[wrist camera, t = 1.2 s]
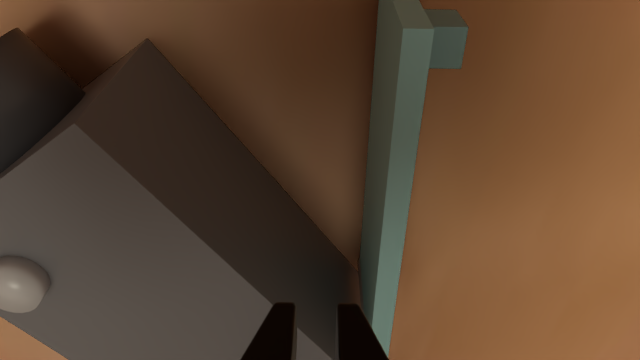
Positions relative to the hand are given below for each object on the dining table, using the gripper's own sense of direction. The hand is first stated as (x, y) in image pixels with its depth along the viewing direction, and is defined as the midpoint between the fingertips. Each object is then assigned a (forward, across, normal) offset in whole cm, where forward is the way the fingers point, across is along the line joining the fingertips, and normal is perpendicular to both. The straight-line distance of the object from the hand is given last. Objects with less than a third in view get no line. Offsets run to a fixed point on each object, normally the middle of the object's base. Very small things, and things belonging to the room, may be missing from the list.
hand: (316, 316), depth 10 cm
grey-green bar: (+13, -3, +4) cm, 14 cm away
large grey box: (+13, +7, +7) cm, 16 cm away
